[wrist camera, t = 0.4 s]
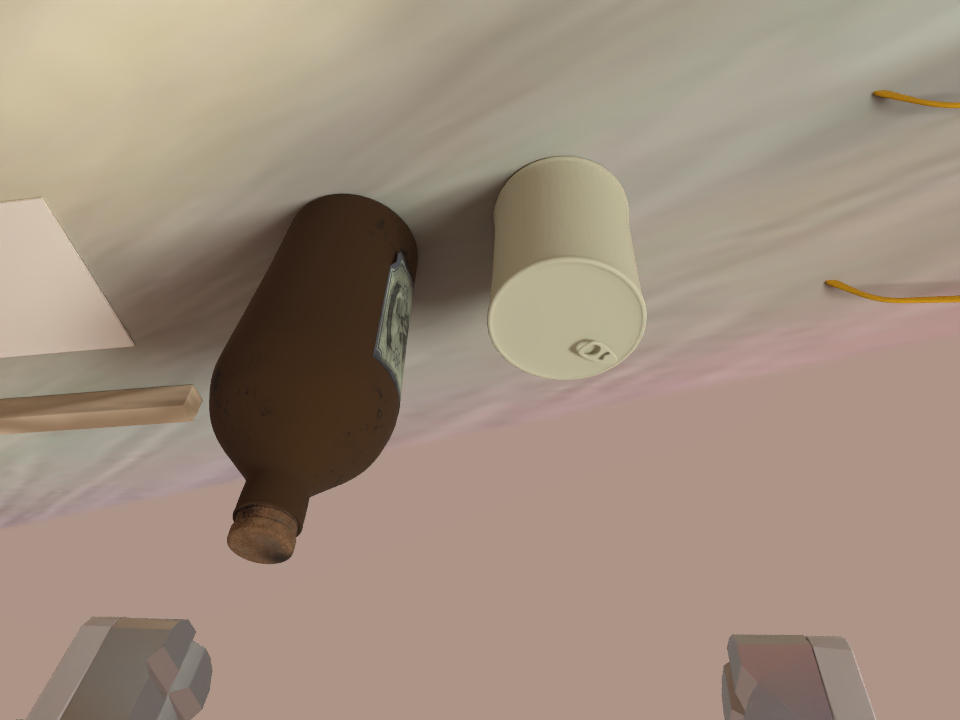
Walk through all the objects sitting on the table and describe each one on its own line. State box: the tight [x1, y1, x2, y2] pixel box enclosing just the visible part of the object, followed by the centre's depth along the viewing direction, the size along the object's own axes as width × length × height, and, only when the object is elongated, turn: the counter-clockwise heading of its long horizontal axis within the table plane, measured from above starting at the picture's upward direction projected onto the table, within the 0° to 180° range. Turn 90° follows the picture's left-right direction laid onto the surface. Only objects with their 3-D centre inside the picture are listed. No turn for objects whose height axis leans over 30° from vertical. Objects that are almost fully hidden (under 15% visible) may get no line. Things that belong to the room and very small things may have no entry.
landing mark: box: [0, 197, 135, 358], centre depth 57 cm, size 14×14×1 cm
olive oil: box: [209, 194, 418, 564], centre depth 44 cm, size 11×11×25 cm
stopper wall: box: [0, 385, 203, 434], centre depth 65 cm, size 2×20×2 cm, turn 99°
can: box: [487, 156, 647, 380], centre depth 46 cm, size 9×9×12 cm
